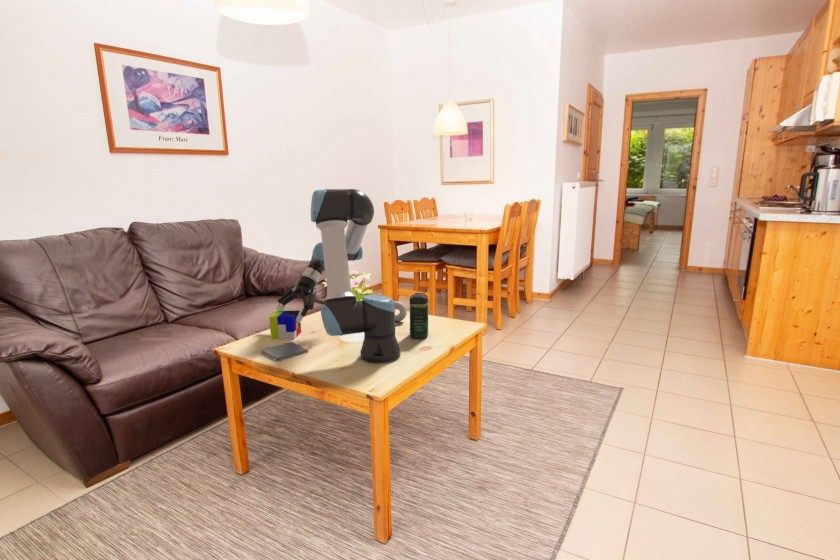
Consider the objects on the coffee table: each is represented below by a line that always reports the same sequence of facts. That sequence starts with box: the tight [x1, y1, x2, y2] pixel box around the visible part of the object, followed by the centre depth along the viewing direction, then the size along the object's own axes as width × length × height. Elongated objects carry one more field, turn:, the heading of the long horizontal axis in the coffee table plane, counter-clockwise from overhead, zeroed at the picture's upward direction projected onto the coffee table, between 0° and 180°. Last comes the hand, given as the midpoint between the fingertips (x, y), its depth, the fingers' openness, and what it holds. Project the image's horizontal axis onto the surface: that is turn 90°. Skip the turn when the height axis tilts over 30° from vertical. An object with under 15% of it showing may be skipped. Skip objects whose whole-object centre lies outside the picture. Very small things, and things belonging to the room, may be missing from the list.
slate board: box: [260, 341, 309, 362], centre depth 178 cm, size 13×13×1 cm
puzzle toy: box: [269, 310, 302, 340], centre depth 197 cm, size 10×10×10 cm
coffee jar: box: [409, 292, 429, 339], centre depth 194 cm, size 10×8×19 cm
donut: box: [393, 300, 408, 322], centre depth 216 cm, size 10×4×10 cm, turn 71°
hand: (286, 319), depth 198 cm, fingers open, 13 cm apart
